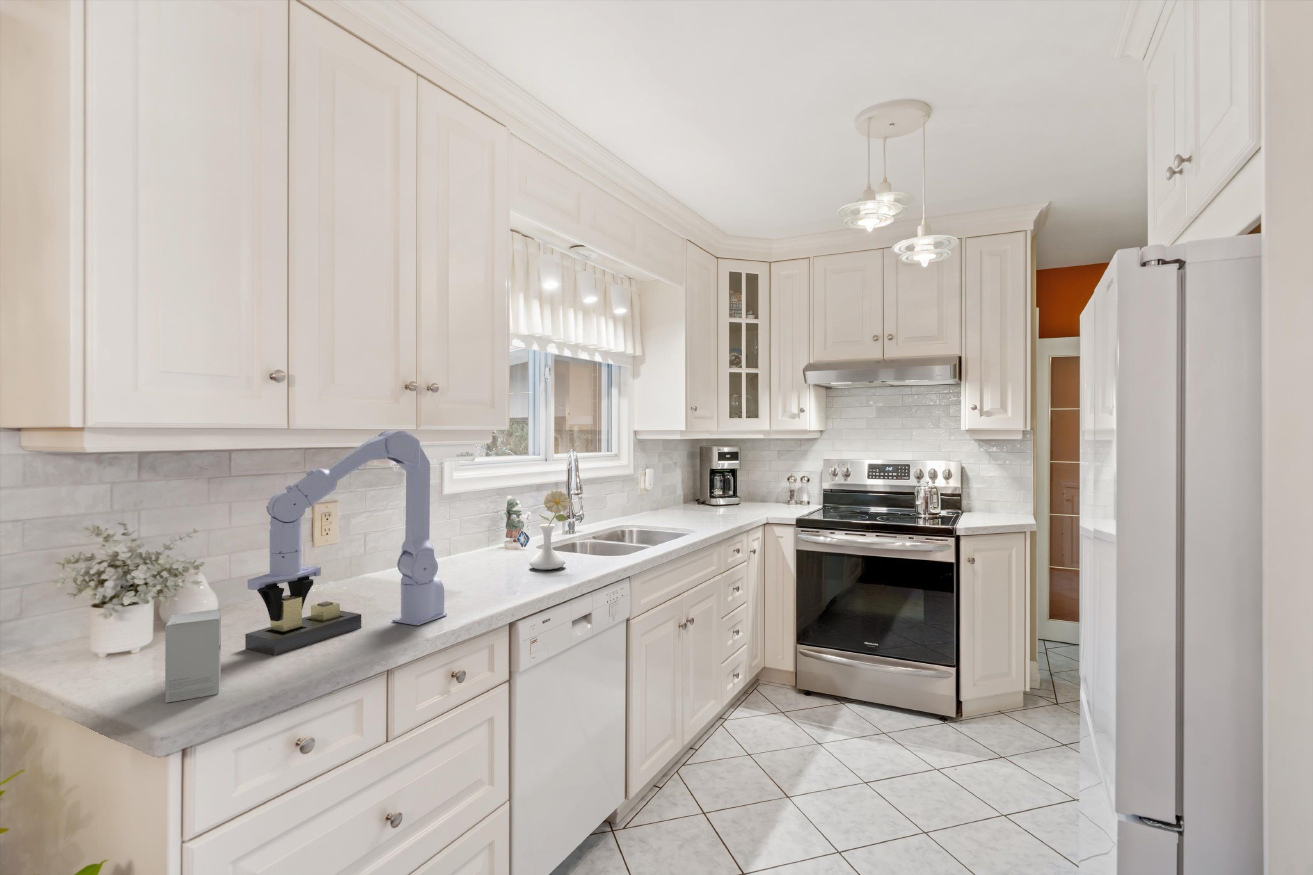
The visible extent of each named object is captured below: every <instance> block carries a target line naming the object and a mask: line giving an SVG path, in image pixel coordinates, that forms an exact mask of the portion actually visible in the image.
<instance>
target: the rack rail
mask: <svg viewBox="0 0 1313 875" xmlns="http://www.w3.org/2000/svg"><path fill="white" fill-rule="evenodd" d="M361 628H362V613H358V612H352V611H346V610H345V611H344V610H340V618H338V619H335V620H331V621H328V622H325V623H320V622H314V621H311V615H308V616H304V617H302V626H301V627H297V628H294V629H290V630H287V631H284V632H283V631H279V630H274V629H271V626H268V627H265V628H261V629H258V630H253V631H251V632H247V633H245V634H244V635H245V636H244V637H245V638H244V640H245V641H244V642H245V645H244V646H245V648H244V649H245V650H249V651H253V652H257V653H262V654H267V655H271V656H278V655H280V654H284V653H286V652H290V651H293V650H296V649H300V648H303V647H305V646H308V645H312V644H316V643H318V642H322V641H325V640H328V639H330V638H333V637H337V636H340V635H342V634H343V635H344V634H346V633H349V632H352V631H356V630H358V629H361Z"/></svg>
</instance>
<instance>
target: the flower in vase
mask: <svg viewBox="0 0 1313 875" xmlns="http://www.w3.org/2000/svg"><path fill="white" fill-rule="evenodd" d="M570 501H571V499H569V496H568V494H567V493H566V492H565V491H564V492H563V491H562V490H556V489H555V490H554V491H551V492H549V493H546V496H545V498H544V501H543V505H544V507H545V509H546V511H548V512H550V513H554V515H553V517H552V518H551V520H550V519H549V518H548V517H545V516H542V514H539V516H540V518H542V519H544V520H547V521H549V523H547V524H546V523H544V524H539V527H540V529H541V531H542V534H543V536H542V537H543V547H542V549H541V550H540V551H539V552H538V553H536V554H535V555H534V556H533V557H532V558H531V560H529V563H528V565H529V566H530V568H534V569H536V570H545V571H546V570H555V569H556V570H557V569H559V568H562V567H564V566H565V564H566V560H565V559H564V558H563V557H562V556H561V555H560V554H559V553H557V552H556V551H555V550H554V549H553V547H552V533H553V530H554V529H555V527H556V524H554V523H553V524H552V522H553V520H554V519H555V520H557V522H564V521H567V520H569V518H568V516H566V515H565V514H564V513H562V512H565V511H567V510H568V509H569V508H568V507H569V506H570V503H571V502H570Z"/></svg>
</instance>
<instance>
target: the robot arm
mask: <svg viewBox="0 0 1313 875" xmlns="http://www.w3.org/2000/svg"><path fill="white" fill-rule="evenodd" d="M385 459H386V460H389V461H392V462H394V463H395V464H397V465H398V466H399V467H400V468H401V469H402V470H404V471H405V527H404V528H405V534H404V535H405V537H404V541H403V543H402V544H401V552H400V554H399V557H398V559H397V562H396V566H397V570H398V571H399V573H400V574H401V575H402V577H401V578H400V616H397V617H395V618H392V619H391V621H392V622H395V623H401V624H406V625H412V626H421V625H423V624H426V623H428V622H432V621H435V620H437V619H439V618H443V617H445V616H447V615H448V614H447V612H445V586H444V583H443V582H442V580H441V579H440V578H438V577H435V576H436V575H437V573H438V571H439V563H438V561H437V559H436V556H435V548H434V547H433V545H432V542H431V540H430V526H431V524H430V522H431V521H430V520H431V519H430V518H431V517H430V516H431V515H430V512H431V511H430V510H431V504H430V503H431V462H430V460H429V459H428V457H427V454H426V453H425V451H424V449H423V448H422V446H421V442H420V439H418V438H417V437H416V436H414V435H413V434H412V433H410V432H408V431H406V430H397V431H396V430H384V431H382V432H380V433H379V434H378V435H377V436H376V435H375V436H373V437H371V438H369V439H368V440H366V441H364V442H362V444H360V445H359V446H357V447H356V448H355V449H353V450H352V451H351V452H349V453H348V454H346V455H345V456H344V457H342V458H341V459H339V460H338V461H337V462H336V463H334V464H333V465H331V466H330V467H328V468H327V469H326V468H319V467H318V468H316V469H315V470H314V469H309V470H308V471H306V472H305V474H306V476H304V477H303V478H301V479H299V480H298V481H296V482H295V483H293V484H292V485H291V484H287V486H285V487H284V489H285V490H286V491H283V492H282V491H281V492H280V491H279V492H278V493H275V494H274V495H272V496H271V497H270V498H269V501H268V503H267V505H266V512H267V514H268V515H269V516H270V522H269V526H270V529H269V573H266V574H262V575H258V576H256V577H253V578H248V579H247V589H248V590H251V591H257V593H258V594H259V595H260V597H261V598H262V600H263V602H264V604H265V607H266V609H267V613H268V617H269V620H270V622H271V621H280V617H281V601H282V596H284V592H285V588H284V587H280V586H279V585H280V584H284V583H286V584H287V586H288V590H289V595H293V596H299V597H302V610H303V608H304V606H305V605H304V604H305V601H306V599H307V597H308V594H309V592H310V590H311V589H312V587H313V586H314V578H313V579H312V577H320V576H321V575H322V567H321V566H319V565H312V566H311V565H310V566H306V567H303V566H302V565H303V554H302V553H303V550H302V549H303V547H302V546H303V534H302V532H303V528H302V517H303V516H304V514H306V513H305V512H306V509H309V508H311V507H313V506H314V505H316V504H317V503H318V502H320V501H321V500H323V499H325V498H326V497H327V496H328V495H330V494H332V493H333V492H335V490H336V489H337V487H338V486H337V485H338V482H339V481H340V480H341V479H343V478H345V477H346V476H348V475H350V474H351V473H353V472H354V471H356V470H357V469H359V468H360V467H362V466H364V465H365V464H367V463H368V462H370V461H375V460H377V461H378V460H385Z"/></svg>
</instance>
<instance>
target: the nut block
mask: <svg viewBox="0 0 1313 875" xmlns="http://www.w3.org/2000/svg"><path fill="white" fill-rule="evenodd" d="M302 618H303V609H302V597H299V596H293V595H290V594H287V595H283V596H282V601H281V617H280V621H271V620H270V627H271V629H274V630H279V631H283V632H284V631H287V630H290V629H294V628H297V627H301V626H302Z"/></svg>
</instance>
